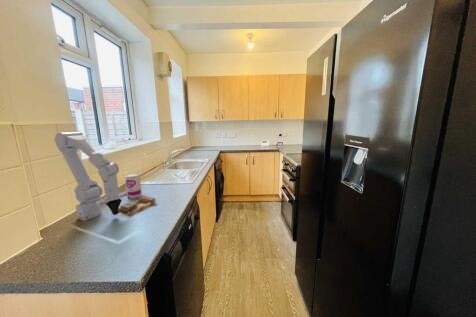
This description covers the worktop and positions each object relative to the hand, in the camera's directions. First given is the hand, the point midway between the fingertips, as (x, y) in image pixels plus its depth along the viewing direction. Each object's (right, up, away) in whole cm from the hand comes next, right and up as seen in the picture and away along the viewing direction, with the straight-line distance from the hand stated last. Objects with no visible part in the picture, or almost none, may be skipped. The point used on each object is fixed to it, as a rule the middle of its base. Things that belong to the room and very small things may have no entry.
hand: (115, 214), depth 96 cm
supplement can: (-5, +2, +28) cm, 29 cm away
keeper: (+3, 0, +7) cm, 8 cm away
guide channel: (+5, -1, +11) cm, 12 cm away
